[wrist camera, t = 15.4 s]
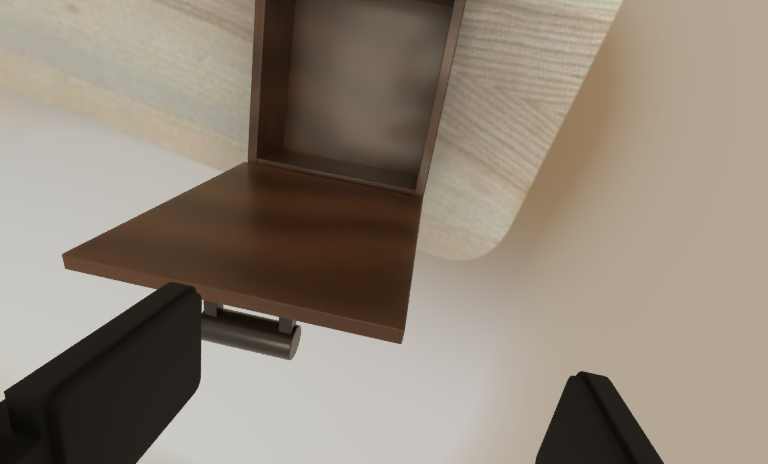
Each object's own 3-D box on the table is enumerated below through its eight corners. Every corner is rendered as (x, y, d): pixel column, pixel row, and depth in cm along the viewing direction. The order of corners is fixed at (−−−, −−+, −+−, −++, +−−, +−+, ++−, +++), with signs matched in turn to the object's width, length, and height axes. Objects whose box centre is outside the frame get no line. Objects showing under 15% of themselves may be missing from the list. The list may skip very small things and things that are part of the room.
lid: (60, 254, 17) (80, 340, 19) (404, 330, 16) (385, 412, 18) (244, 161, 33) (244, 214, 35) (423, 197, 32) (411, 249, 34)
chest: (292, -29, 34) (258, -60, 28) (463, 0, 33) (471, -25, 27) (278, 154, 40) (247, 165, 33) (424, 183, 39) (422, 200, 32)
